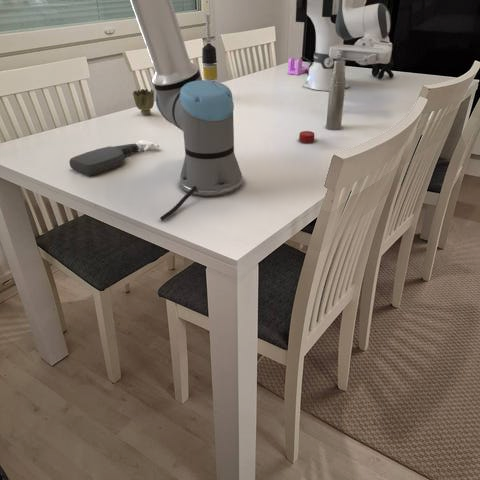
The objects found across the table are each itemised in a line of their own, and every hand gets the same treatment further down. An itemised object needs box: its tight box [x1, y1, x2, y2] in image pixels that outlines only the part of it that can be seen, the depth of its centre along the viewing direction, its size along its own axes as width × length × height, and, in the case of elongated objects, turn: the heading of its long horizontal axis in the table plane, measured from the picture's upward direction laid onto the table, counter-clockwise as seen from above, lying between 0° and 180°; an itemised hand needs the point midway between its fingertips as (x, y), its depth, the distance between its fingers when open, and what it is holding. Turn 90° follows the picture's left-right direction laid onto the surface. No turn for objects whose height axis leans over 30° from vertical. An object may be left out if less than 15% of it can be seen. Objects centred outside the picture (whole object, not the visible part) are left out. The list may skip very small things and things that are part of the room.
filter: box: [201, 14, 218, 82], centre depth 171 cm, size 6×6×30 cm
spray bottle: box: [68, 139, 160, 177], centre depth 124 cm, size 3×11×24 cm
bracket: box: [287, 57, 309, 76], centre depth 217 cm, size 13×6×7 cm, turn 143°
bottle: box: [325, 60, 347, 131], centre depth 140 cm, size 5×5×20 cm
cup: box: [132, 88, 155, 116], centre depth 160 cm, size 8×7×8 cm
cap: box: [298, 130, 315, 144], centre depth 135 cm, size 4×4×2 cm
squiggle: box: [371, 55, 394, 80], centre depth 203 cm, size 11×10×15 cm
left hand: (314, 19), depth 118 cm, fingers open, 13 cm apart
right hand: (352, 58), depth 144 cm, fingers open, 8 cm apart
